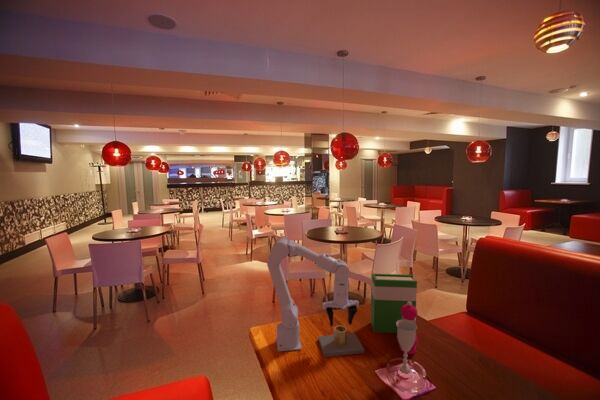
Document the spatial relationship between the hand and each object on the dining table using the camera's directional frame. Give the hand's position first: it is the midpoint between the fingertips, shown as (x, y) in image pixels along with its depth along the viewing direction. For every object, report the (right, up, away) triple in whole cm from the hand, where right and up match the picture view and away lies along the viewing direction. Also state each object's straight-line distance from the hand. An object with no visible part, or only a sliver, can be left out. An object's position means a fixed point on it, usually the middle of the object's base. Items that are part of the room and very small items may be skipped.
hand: (340, 324), depth 111 cm
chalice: (+21, -11, -14) cm, 27 cm away
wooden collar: (0, -8, +1) cm, 8 cm away
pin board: (0, -9, +1) cm, 9 cm away
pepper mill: (+27, -10, -1) cm, 28 cm away
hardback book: (+25, -8, +14) cm, 30 cm away
